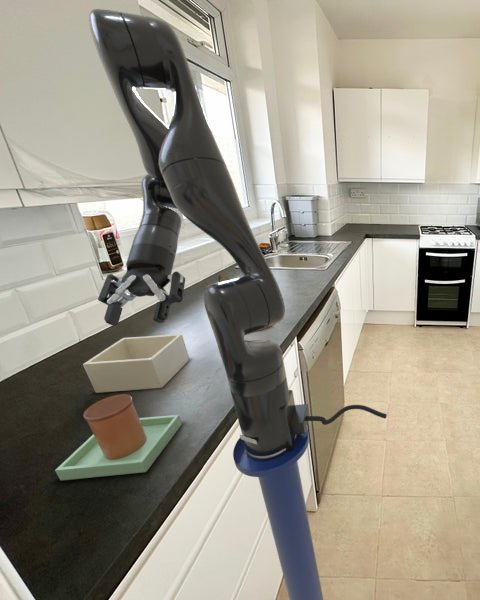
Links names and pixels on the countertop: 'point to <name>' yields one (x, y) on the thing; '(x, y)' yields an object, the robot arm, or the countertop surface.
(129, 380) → the cream storage bin
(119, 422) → the terracotta pot
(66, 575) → the countertop surface
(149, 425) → the shallow green tray
